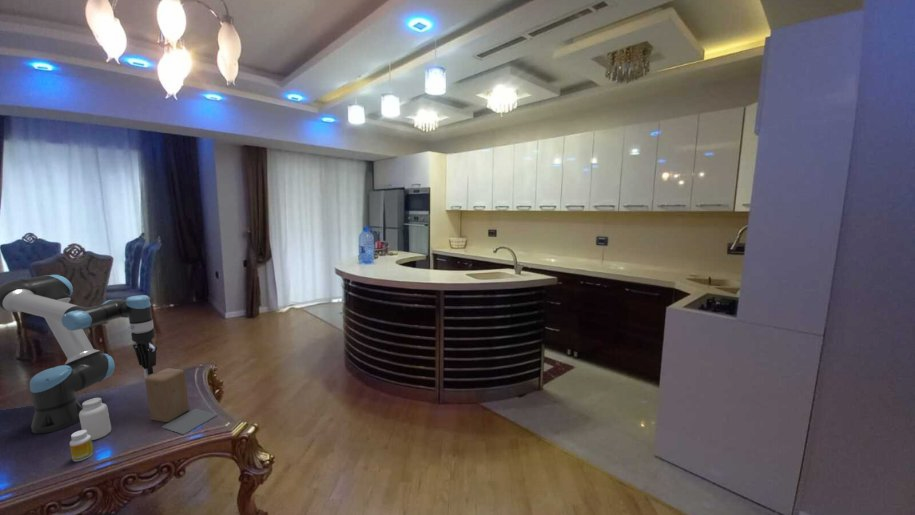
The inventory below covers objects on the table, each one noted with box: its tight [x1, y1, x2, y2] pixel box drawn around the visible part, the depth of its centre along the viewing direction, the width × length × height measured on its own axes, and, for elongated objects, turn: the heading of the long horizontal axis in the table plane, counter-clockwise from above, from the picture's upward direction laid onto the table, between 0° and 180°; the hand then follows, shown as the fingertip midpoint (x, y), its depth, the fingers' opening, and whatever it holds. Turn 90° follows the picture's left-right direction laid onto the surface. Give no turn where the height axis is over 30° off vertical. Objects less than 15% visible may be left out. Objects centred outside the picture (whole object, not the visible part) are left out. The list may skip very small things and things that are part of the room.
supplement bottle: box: [69, 429, 94, 462], centre depth 128 cm, size 5×5×10 cm
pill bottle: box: [79, 397, 112, 441], centre depth 140 cm, size 8×8×15 cm
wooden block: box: [144, 367, 190, 423], centre depth 152 cm, size 10×10×20 cm
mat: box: [160, 407, 218, 436], centre depth 150 cm, size 14×14×1 cm
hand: (149, 380), depth 156 cm, fingers closed
